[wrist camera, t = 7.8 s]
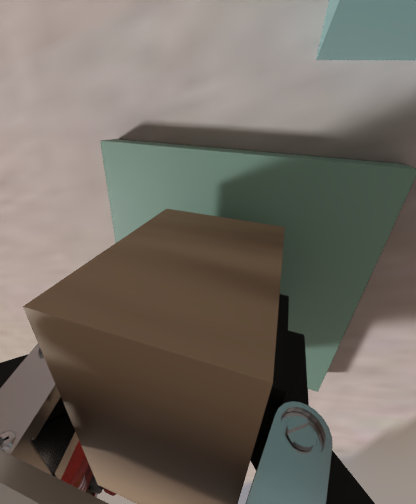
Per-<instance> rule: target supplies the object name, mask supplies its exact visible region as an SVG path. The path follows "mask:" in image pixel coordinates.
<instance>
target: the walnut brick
mask: <svg viewBox="0 0 416 504" xmlns="http://www.w3.org/2000/svg"><path fill="white" fill-rule="evenodd" d="M284 230H285V227H282V226H276V225H269V224H263V223H256V222H250V221H243V220H237V219H231V218H224V217H218V216H211V215H205V214H198V213H192V212H186V211H179V210H173V209H165V210H164V211H162V212H161V213H159V214H158V215H156V216H155V217H154V218H152V219H151V220H149V221H148V222H146V223H145V224H143V225H142V226H140V227H139V228H137V229H136V230H134V231H133V232H132V233H130V234H129V235H127V236H126V237H124V238H123V239H121V240H120V241H118V242H117V243H115V244H114V245H113V246H111V247H110V248H108V249H107V250H105V251H104V252H102V253H101V254H99V255H98V256H96V257H95V258H93V259H92V260H91V261H89V262H88V263H86V264H85V265H83V266H82V267H80V268H79V269H77V270H76V271H74V272H73V273H72V274H70V275H69V276H67V277H66V278H64V279H63V280H61V281H60V282H58V283H57V284H55V285H54V286H52V287H51V288H50V289H48V290H47V291H45V292H44V293H42V294H41V295H39V296H38V297H36V298H35V299H33V300H32V301H30V302H29V303H28V304H26V305H25V306H23V308H24V310H25V313H26V315H27V317H28V320H29V322H30V324H31V327H32V329H33V332H34V334H35V336H36V339H37V341H38V344H39V346H40V348H41V351H42V353H43V355H44V358H45V360H46V363H47V365H48V367H49V370H50V372H51V375H52V377H53V379H54V382H55V384H56V386H57V389H58V391H59V394H60V396H61V398H62V401H63V403H64V405H65V408H66V410H67V413H68V415H69V417H70V420H71V422H72V425H73V427H74V429H75V432H76V434H77V436H78V439H79V441H80V444H81V446H82V448H83V451H84V453H85V456H86V458H87V460H88V463H89V465H90V467H91V470H92V472H93V475H94V477H95V479H96V482H97V484H98V485H99V486H101V487H104V488H106V489H108V490H110V491H112V492H114V493H116V494H118V495H120V496H122V497H124V498H126V499H128V500H130V501H133V502H134V503H137V504H238V500H239V497H240V493H241V490H242V487H243V483H244V480H245V476H246V473H247V470H248V466H249V463H250V459H251V456H252V453H253V449H254V446H255V442H256V439H257V435H258V432H259V429H260V425H261V422H262V418H263V415H264V412H265V408H266V405H267V401H268V398H269V394H270V391H271V388H272V384H273V374H274V361H275V348H276V335H277V322H278V309H279V295H280V282H281V269H282V256H283V243H284Z"/></svg>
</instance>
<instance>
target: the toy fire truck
mask: <svg viewBox="0 0 416 504" xmlns="http://www.w3.org/2000/svg"><path fill="white" fill-rule="evenodd" d="M61 480H62V481H64V482H66V483H68V484H70V485H72V486H74V487H76V488H78V489H80V490H82V491H84V492H86V493H88V494H90V495H92V496H94V497H97V495H98V494H99V493H101V492H102V489H104V491H105V492H106V493H108V494H110V495H113V496H114V495H116V493H114V492H112V491H110V490H108V489H106V488H104V487H101V486H99V485H98V484H97V482H96V479H95V477H94V475H93V472H92V470H91V467H90V465H89V463H88V460H87V458H86V456H85V453H84V451H83V448H82V446H81V444H80V441H78V443H77V445H76V447H75V450H74V452H73V454H72V456H71V458H70V461H69V463H68V465H67V467H66V469H65V471H64V474H63V476H62V478H61Z"/></svg>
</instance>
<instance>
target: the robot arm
mask: <svg viewBox="0 0 416 504" xmlns="http://www.w3.org/2000/svg"><path fill="white" fill-rule="evenodd" d="M288 312H289V296H287V295H282V294H280V295H279V309H278V322H277V335H276V348H275V361H274V374H273V384H272V388H271V391H270V394H269V398H268V401H267V405H266V408H265V412H264V415H263V418H262V422H261V425H260V429H259V432H258V435H257V439H256V442H255V446H254V449H253V453H252V456H251V459H250V460H251V462H252V464H253V466H254V468H255V469H256V473H255V477H254V480H253V483H252V486H251V489H250V492H249V495H248V498H247V501H246V504H375V503H374V502H373V501H372V500H371V498H370V497H369V496H368V494H367V493H366V492H365V491H364V489H363V488H362V487H361V486H360V484H359V483H358V482H357V481H356V479H355V478H354V477H353V476H352V474H351V473H350V472H349V471H348V470H347V468H346V467H345V466H344V465H343V463H342V462H341V461H340V459H339V458H338V457H337V456H336V454H335V453H334V452H333V451H332V436H331V433H330V430H329V427H328V426H327V424H326V422H325V421H324V419H323V418H322V417H321V416H320V415H319V414H318V413H317V411H315V410H314V409H313V408H311V407H310V406H309V405H308V387H307V369H306V351H305V337H304V334H300V333H296V332H292V331H288ZM78 441H79V439H78V436H77V434H76V432H75V429H74V427H73V425H72V422H71V420H70V417H69V415H68V413H67V410H66V408H65V405H64V403H63V401H62V398H61V396H60V394H59V391H58V389H57V386H56V384H55V382H54V379H53V377H52V375H51V372H50V370H49V367H48V365H47V363H46V360H45V358H44V355H43V353H42V351H41V348H40V346H39V344H37V345H36V346H35V347H34V349H33V350H32V351H31V352H30V353H29V354H28V355H25V356H21V357H18V358H15V359H12V360H8V361H5V362H2V363H0V504H108V503H106V502H104V501H102V500H100V499H98V498H96V497H94V496H92V495H90V494H88V493H86V492H84V491H82V490H80V489H78V488H76V487H74V486H72V485H70V484H68V483H66V482H64V481H62V480H61V478H62V476H63V474H64V471H65V469H66V467H67V465H68V463H69V461H70V458H71V456H72V454H73V452H74V450H75V447H76V445H77V443H78Z"/></svg>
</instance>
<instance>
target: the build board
mask: <svg viewBox="0 0 416 504" xmlns="http://www.w3.org/2000/svg"><path fill="white" fill-rule="evenodd" d="M100 142H101V149H102V155H103V162H104V168H105V175H106V182H107V188H108V195H109V201H110V208H111V215H112V221H113V228H114V234H115V241H116V243H117V242H118V241H120V240H121V239H123V238H124V237H126V236H127V235H129V234H130V233H132V232H133V231H134V230H136V229H137V228H139V227H140V226H142V225H143V224H145V223H146V222H148V221H149V220H151V219H152V218H154V217H155V216H156V215H158V214H159V213H161V212H162V211H164V210H165V209H173V210H179V211H186V212H192V213H198V214H205V215H211V216H218V217H224V218H231V219H237V220H243V221H250V222H256V223H263V224H269V225H276V226H282V227H285V230H284V243H283V256H282V269H281V282H280V294H282V295H287V296H289V312H288V331H292V332H296V333H300V334H304V337H305V351H306V369H307V387H308V389H311V390H314V391H317V392H318V390H319V388H320V386H321V384H322V381H323V379H324V377H325V375H326V373H327V371H328V368H329V366H330V364H331V362H332V360H333V357H334V355H335V353H336V351H337V349H338V346H339V344H340V342H341V340H342V338H343V335H344V333H345V331H346V329H347V327H348V324H349V322H350V320H351V318H352V316H353V313H354V311H355V309H356V307H357V305H358V303H359V300H360V298H361V296H362V294H363V292H364V289H365V287H366V285H367V283H368V281H369V278H370V276H371V274H372V272H373V270H374V267H375V265H376V263H377V261H378V259H379V256H380V254H381V252H382V250H383V248H384V246H385V243H386V241H387V239H388V237H389V235H390V232H391V230H392V228H393V226H394V224H395V221H396V219H397V217H398V215H399V213H400V210H401V208H402V206H403V204H404V202H405V199H406V197H407V195H408V193H409V191H410V188H411V186H412V184H413V182H414V180H415V178H416V168H414V167H411V166H408V165H406V164H398V163H386V162H375V161H363V160H352V159H340V158H329V157H317V156H306V155H294V154H283V153H271V152H260V151H248V150H237V149H225V148H214V147H202V146H191V145H179V144H168V143H157V142H145V141H134V140H122V139H113V140H102V141H100Z"/></svg>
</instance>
